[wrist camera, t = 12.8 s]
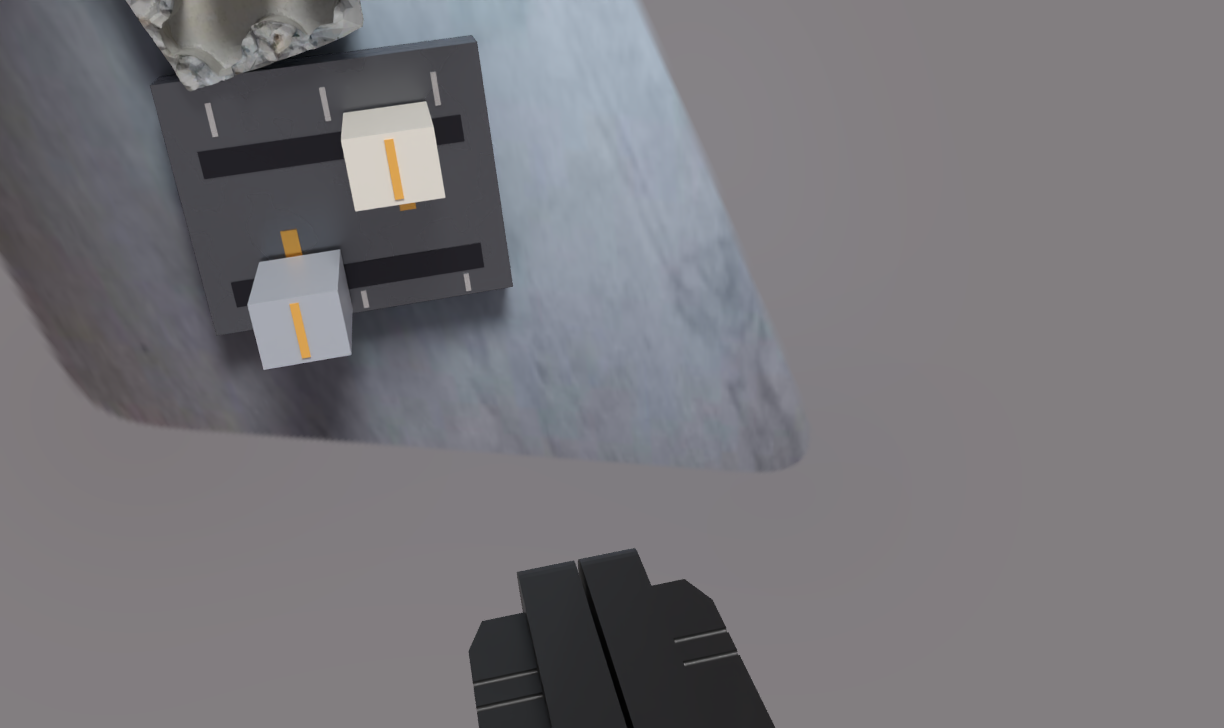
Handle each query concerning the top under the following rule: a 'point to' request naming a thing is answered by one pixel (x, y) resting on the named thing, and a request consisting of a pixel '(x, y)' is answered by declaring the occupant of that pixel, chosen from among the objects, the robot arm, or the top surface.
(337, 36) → the egg carton
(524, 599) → the robot arm
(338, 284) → the slate fader cap
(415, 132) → the ivory cap
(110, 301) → the top surface
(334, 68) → the fader console
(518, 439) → the top surface
